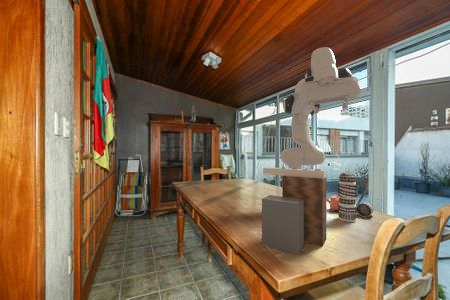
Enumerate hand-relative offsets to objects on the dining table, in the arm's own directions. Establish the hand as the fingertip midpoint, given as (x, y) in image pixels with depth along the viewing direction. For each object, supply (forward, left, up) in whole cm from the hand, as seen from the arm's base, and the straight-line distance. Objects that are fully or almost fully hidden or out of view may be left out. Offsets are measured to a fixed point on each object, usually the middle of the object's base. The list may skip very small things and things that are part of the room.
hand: (330, 110), depth 74 cm
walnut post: (-14, +2, -51) cm, 53 cm away
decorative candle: (-23, +41, -52) cm, 70 cm away
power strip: (-19, -1, -25) cm, 32 cm away
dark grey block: (-13, -11, -51) cm, 54 cm away
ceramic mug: (-24, +56, -52) cm, 80 cm away
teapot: (-37, +52, -52) cm, 82 cm away
